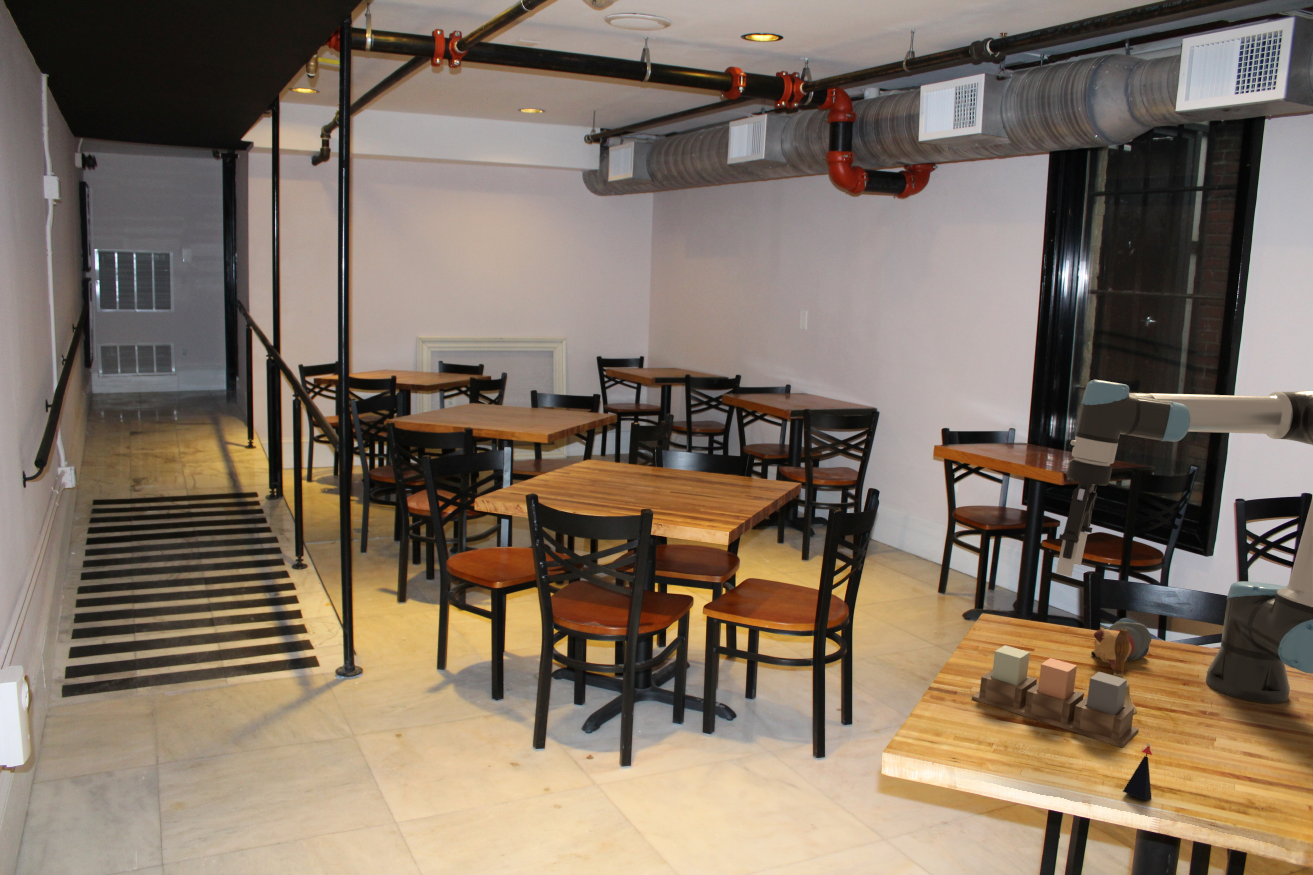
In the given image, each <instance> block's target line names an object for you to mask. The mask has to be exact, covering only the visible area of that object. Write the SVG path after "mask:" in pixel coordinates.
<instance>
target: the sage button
mask: <svg viewBox="0 0 1313 875" xmlns="http://www.w3.org/2000/svg"><path fill="white" fill-rule="evenodd" d="M1030 654H1031V652H1030V651H1027V650H1022V649H1020V648H1016V647H1013V646H1009V645H1002V646H1001V647H1000V648H997V649H996V650H995V651H994V655H993V656H994V657H993V663H992V664H993V665H992V670H993V672H992V678H994V679H997V680H1001V681H1004V682H1007V683H1010V684H1014V685H1017V686H1018V685H1020V684H1021V683H1023V682H1024V681H1026V680H1027V676H1028V671H1029V670H1028V669H1029V663H1030Z"/></svg>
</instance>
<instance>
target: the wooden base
mask: <svg viewBox="0 0 1313 875" xmlns="http://www.w3.org/2000/svg"><path fill="white" fill-rule="evenodd" d="M992 672H993V669H992V670H991V671H989V672H986V674H983V675H982V676H981V678H980V685H979V691H978V692H977V693H975V694H974V695H972V696H971V700H972V701H973V700H974V701H978V702H979V703H983V704H986V705H989V706H992V707H995V708H999V709H1000V710H1001V709H1002V710H1005V711H1006V712H1007V711H1009V712H1011V713H1013V714H1017V715H1021V716H1022V717H1023V716H1024V717H1027V718H1029V719H1032V720H1034V721H1039V722H1041V723H1045V724H1048V725H1051V726H1054V727H1058V728H1059V729H1060V728H1061V729H1063V730H1067V731H1070V732H1072V733H1076V734H1078V735H1082V736H1085V737H1088V738H1091V739H1095V740H1097V741H1100V742H1104V743H1107V744H1110V745H1112V746H1116V747H1120V748H1123V747H1124V746H1125V745H1126V744H1128V742H1129V741H1130V740H1131V739H1132V738H1133V737H1134V736H1135V735H1136V734H1137V733H1138V732H1139V727H1136V726H1133V719H1134V715H1133V713H1134V707H1130V706H1127V705H1123V710H1122V711H1121V712H1120V713H1119V714H1118V715H1116V716H1115V715H1112V714H1109V713H1105V712H1102V711H1099V710H1096V709H1092V708H1089V707H1086V706H1087V698H1088V695H1087V696H1086V697H1085V692H1082V691H1080V690H1076V689H1074V693H1073V695H1072V696H1070V697H1069V698H1068V699H1067V700H1063V699H1060V698H1056V697H1053V696H1050V695H1046V694H1043V693H1040V692H1038V685H1039V682H1038V678H1035V677H1033V676H1029V675H1027V680H1026V681H1024V682H1023V683H1021V684H1020V685H1018V686H1017V685H1014V684H1010V683H1007V682H1004V681H1001V680H997V679H994V678H992Z"/></svg>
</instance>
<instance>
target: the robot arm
mask: <svg viewBox="0 0 1313 875" xmlns="http://www.w3.org/2000/svg"><path fill="white" fill-rule="evenodd" d="M1080 404H1081V407H1080V412H1079V417H1078V424H1077V426H1076V427H1077V428H1076V433H1075V436H1074V439H1075V440H1074V439H1071V441H1070V445H1071V446H1074V447H1072V452H1071V456H1072V457H1073V458H1072V459H1071V460H1069V463H1068V464H1069V465H1068V468H1067V474H1066V476H1067V478H1068V479H1071V480H1073V481H1077V482H1078V484H1077V487H1075V488H1074V489H1073V490H1072V493H1071V502H1070V504H1069V506H1070V507H1069V511H1068V512H1069V513H1068V516H1067V519H1066V522H1065V526H1064V530H1063V533H1062V534H1061V533H1060V534H1059V538H1058V539H1059V540H1062V542H1061V547H1060V552H1059V557H1058V561H1057V566H1056V570H1055V574H1058V575H1062V576H1066V577H1072V576H1073V572H1074V567H1075V565H1078V566H1081V565H1082V561H1083V556H1084V551H1085V547H1086V544H1087V543H1086V542H1087V539H1088V538H1087V537H1088V533H1090V534H1092V531H1093V527H1091V525H1092V524H1091V521H1092V514H1093V509H1094V506H1095V502H1096V500H1097V495H1098V493H1097V492H1096V491H1097V489H1098V486H1107V485H1109V484H1110V480H1111V476H1112V471H1113V467H1112V466H1111V464H1114V463H1115V458H1116V454H1117V449H1118V445H1119V439H1120V436H1121V435H1122V436H1133V437H1139V438H1142V439H1143V438H1144V439H1150V440H1156V441H1157V440H1158V441H1160V442H1173V443H1175V442H1176V443H1177V442H1179V441H1181V440H1182V439H1184V438H1185V437H1186V435H1187V434H1188V433H1190V432H1194V433H1195V432H1197V433H1224V434H1225V433H1226V434H1228V433H1231V434H1233V433H1234V434H1257V435H1258V434H1259V435H1260V434H1261V435H1263V434H1264V435H1266V436H1268V437H1269V438H1270V439H1273V440H1289V441H1294V442H1298V443H1302V444H1303V443H1304V444H1307V445H1310V446H1313V390H1303V391H1274V392H1272V393H1270V394H1268V395H1267V396H1265V395H1264V396H1263V395H1259V396H1258V395H1230V394H1229V395H1225V394H1224V395H1220V394H1188V393H1187V394H1186V393H1185V394H1184V393H1152V392H1151V393H1150V392H1149V393H1143V392H1138V393H1137V392H1130V386H1129V385H1127V384H1124V383H1118V382H1113V381H1112V382H1111V381H1106V380H1102V379H1101V380H1100V379H1099V380H1098V379H1093V380H1090V381H1088V382H1087V383H1086V387H1085V390H1084V393H1083V397H1082V399H1081V403H1080ZM1225 606H1226V608H1225V614H1224V621H1223V629H1222V633H1221V634H1222V635H1221V640H1220V641H1221V642H1220V647H1219V650H1218V651H1217V653H1216V655H1215V656H1214V658H1213V660H1212V661H1211V663H1210V665H1209V667H1208V669H1207V671H1206V678H1205V682H1206V683H1207V684H1208V686H1209V687H1211V688H1212V689H1214V690H1216V691H1217V692H1220V693H1222V694H1225V695H1228V696H1230V697H1233V698H1235V699H1236V698H1237V699H1241V700H1245V701H1250V702H1256V703H1261V704H1283V703H1285V702H1288V701H1289V699H1290V697H1289V696H1290V691H1291V689H1290V688H1291V687H1290V683H1289V679H1288V674H1287V669H1286V666H1287V667H1289V668H1292V669H1295V670H1298V671H1300V672H1302V673H1305V674H1309V675H1311V674H1313V497H1312V499H1311V502H1310V505H1309V509H1308V513H1307V517H1306V520H1305V523H1304V526H1303V531H1302V535H1301V537H1300V542H1299V545H1298V549H1297V552H1296V556H1295V560H1294V564H1293V566H1292V571H1291V574H1290V578H1289V581H1288V583H1287V585H1286V586H1285V585H1281V584H1274V583H1267V582H1260V581H1259V582H1258V581H1245V580H1244V581H1243V580H1242V581H1236V582H1233V583H1232V584H1230V586H1229V590H1228V594H1227V597H1226V605H1225Z"/></svg>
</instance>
